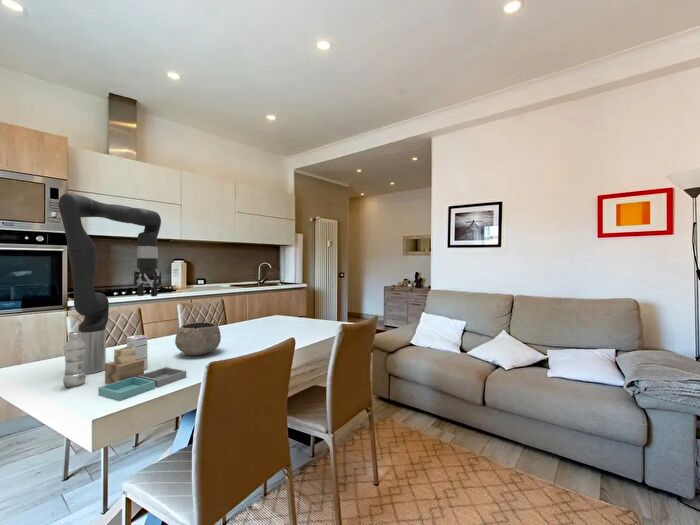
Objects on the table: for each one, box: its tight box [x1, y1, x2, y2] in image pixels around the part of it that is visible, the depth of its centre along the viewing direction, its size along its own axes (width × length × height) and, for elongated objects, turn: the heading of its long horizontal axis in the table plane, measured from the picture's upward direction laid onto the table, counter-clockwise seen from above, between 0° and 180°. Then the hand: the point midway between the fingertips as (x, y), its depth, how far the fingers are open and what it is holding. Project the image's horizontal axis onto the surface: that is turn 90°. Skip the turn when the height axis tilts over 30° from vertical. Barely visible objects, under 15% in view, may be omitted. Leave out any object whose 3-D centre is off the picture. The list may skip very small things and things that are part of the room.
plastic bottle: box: [62, 331, 86, 388], centre depth 123 cm, size 6×7×20 cm
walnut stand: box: [104, 359, 145, 385], centre depth 126 cm, size 9×9×8 cm
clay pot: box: [174, 322, 222, 356], centre depth 167 cm, size 21×21×15 cm
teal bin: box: [97, 377, 156, 402], centre depth 116 cm, size 12×12×3 cm
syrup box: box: [126, 334, 149, 370], centre depth 142 cm, size 6×6×14 cm
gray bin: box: [137, 366, 187, 388], centre depth 127 cm, size 12×12×3 cm
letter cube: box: [113, 346, 136, 364], centre depth 126 cm, size 5×5×5 cm
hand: (147, 296), depth 138 cm, fingers open, 8 cm apart
